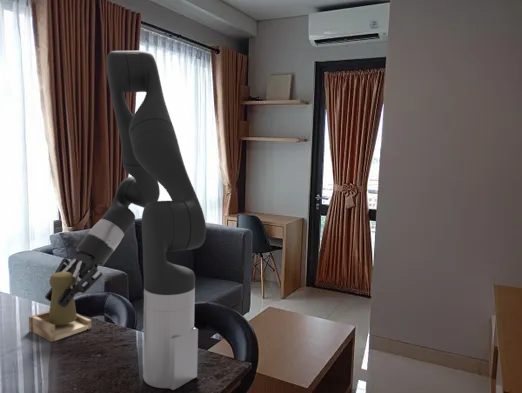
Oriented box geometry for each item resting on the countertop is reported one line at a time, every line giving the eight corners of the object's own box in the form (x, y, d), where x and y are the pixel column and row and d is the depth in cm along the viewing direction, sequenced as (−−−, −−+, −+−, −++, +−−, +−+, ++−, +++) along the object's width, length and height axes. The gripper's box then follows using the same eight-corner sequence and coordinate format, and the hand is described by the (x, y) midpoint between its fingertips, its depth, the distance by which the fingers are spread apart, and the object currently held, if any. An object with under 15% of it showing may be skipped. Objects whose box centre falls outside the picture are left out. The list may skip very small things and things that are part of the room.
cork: (81, 315, 102) (81, 270, 101) (68, 325, 96) (67, 277, 95) (57, 313, 103) (56, 268, 102) (42, 323, 97) (41, 276, 96)
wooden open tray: (91, 328, 101) (91, 313, 101) (49, 342, 93) (49, 327, 93) (70, 318, 106) (70, 304, 106) (29, 331, 98) (28, 316, 98)
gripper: (74, 228, 108) (26, 287, 99) (109, 237, 99) (60, 302, 91) (93, 246, 113) (49, 303, 104) (128, 255, 104) (83, 318, 96)
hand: (54, 302), depth 98 cm, fingers closed on cork, 4 cm apart
